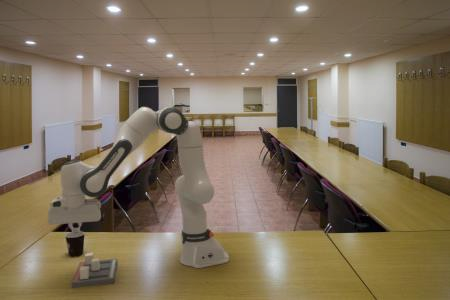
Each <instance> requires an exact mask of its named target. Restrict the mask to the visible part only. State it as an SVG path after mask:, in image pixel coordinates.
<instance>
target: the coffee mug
mask: <svg viewBox="0 0 450 300" xmlns="http://www.w3.org/2000/svg"><path fill="white" fill-rule="evenodd" d="M85 233H86V232H84V231H83V230H82V231H81V230H80V233H72V231H71V232H68V233H66V234H65V235H64V236H65V241H66V247H67V252H68V256H69V257H70V258H76V257H77V258H78V257H80V256H82V255H83V254H84V248H85Z"/></svg>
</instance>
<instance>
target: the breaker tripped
mask: <svg viewBox="0 0 450 300" xmlns="http://www.w3.org/2000/svg"><path fill="white" fill-rule="evenodd" d="M100 260H101V258H99V257H97V258H93V259H92V261H91V265H92V271H96V270H100Z"/></svg>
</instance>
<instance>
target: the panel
mask: <svg viewBox="0 0 450 300" xmlns="http://www.w3.org/2000/svg"><path fill="white" fill-rule="evenodd" d="M83 266H89V278H88V279H80V268H81V267H83ZM117 268H118V258H110V259H109V258H108V259H100V270H96V271H92V265H91V264H90V265H85V261H80V262H79V264H78V267H77V269H76V270H75V273H74V276H73V279H72V281H71V288H72V289H75V288H81V287H91V286H101V285H108V284H109V285H110V284H115V282H116V281H115V280H116V275H117Z"/></svg>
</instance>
